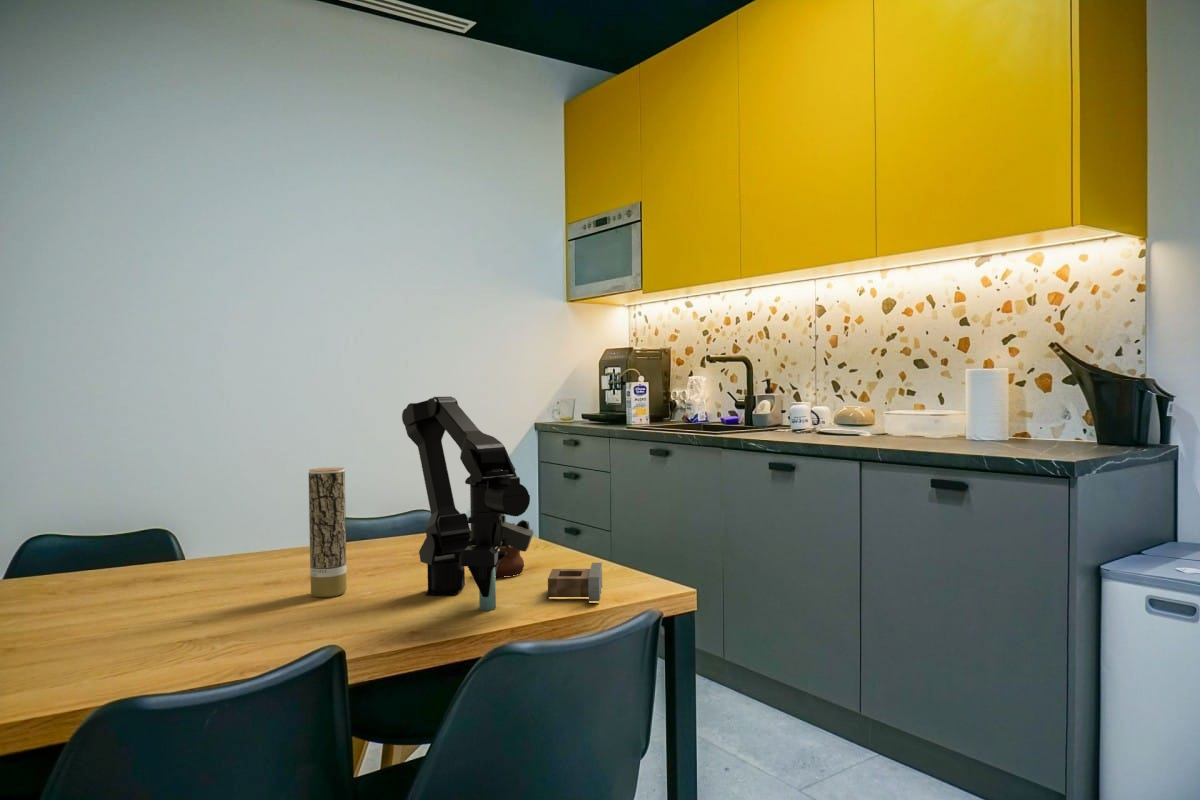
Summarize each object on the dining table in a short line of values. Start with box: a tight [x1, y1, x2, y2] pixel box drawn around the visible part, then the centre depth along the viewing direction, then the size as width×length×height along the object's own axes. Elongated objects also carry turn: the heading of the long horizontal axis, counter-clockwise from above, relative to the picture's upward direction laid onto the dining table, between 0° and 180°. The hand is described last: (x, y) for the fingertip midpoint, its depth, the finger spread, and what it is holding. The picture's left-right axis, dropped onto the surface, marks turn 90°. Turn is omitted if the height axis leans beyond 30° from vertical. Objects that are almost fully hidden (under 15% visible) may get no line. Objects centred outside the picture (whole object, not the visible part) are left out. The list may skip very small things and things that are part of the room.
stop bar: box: [588, 562, 603, 602], centre depth 149 cm, size 2×12×5 cm, turn 177°
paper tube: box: [308, 467, 348, 598], centre depth 152 cm, size 7×7×25 cm
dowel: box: [478, 567, 497, 611], centre depth 141 cm, size 3×3×8 cm
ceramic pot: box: [495, 545, 525, 578], centre depth 168 cm, size 18×18×7 cm
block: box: [547, 568, 591, 598], centre depth 150 cm, size 8×8×4 cm
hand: (487, 594), depth 141 cm, fingers closed on dowel, 3 cm apart
